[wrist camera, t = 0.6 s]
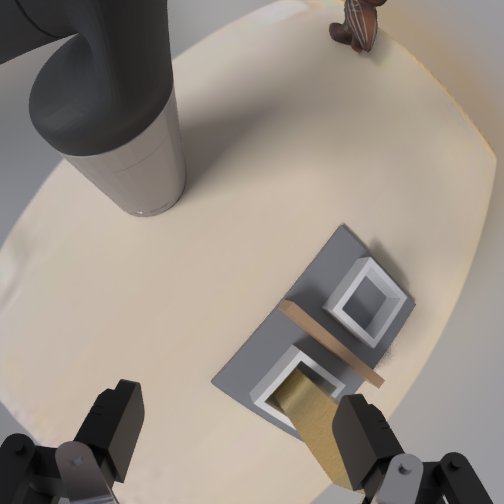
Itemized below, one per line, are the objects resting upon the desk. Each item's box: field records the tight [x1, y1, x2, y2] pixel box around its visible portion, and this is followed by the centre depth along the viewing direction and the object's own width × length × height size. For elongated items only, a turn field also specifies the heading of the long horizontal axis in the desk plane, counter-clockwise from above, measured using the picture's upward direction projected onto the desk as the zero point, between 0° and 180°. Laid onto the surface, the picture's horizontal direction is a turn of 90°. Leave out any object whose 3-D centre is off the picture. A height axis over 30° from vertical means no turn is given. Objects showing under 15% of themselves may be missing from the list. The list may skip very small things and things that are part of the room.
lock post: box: [273, 367, 365, 494], centre depth 22 cm, size 4×4×18 cm
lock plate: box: [211, 225, 416, 442], centre depth 31 cm, size 24×16×4 cm, turn 139°
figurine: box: [329, 0, 387, 52], centre depth 31 cm, size 13×6×15 cm, turn 2°
